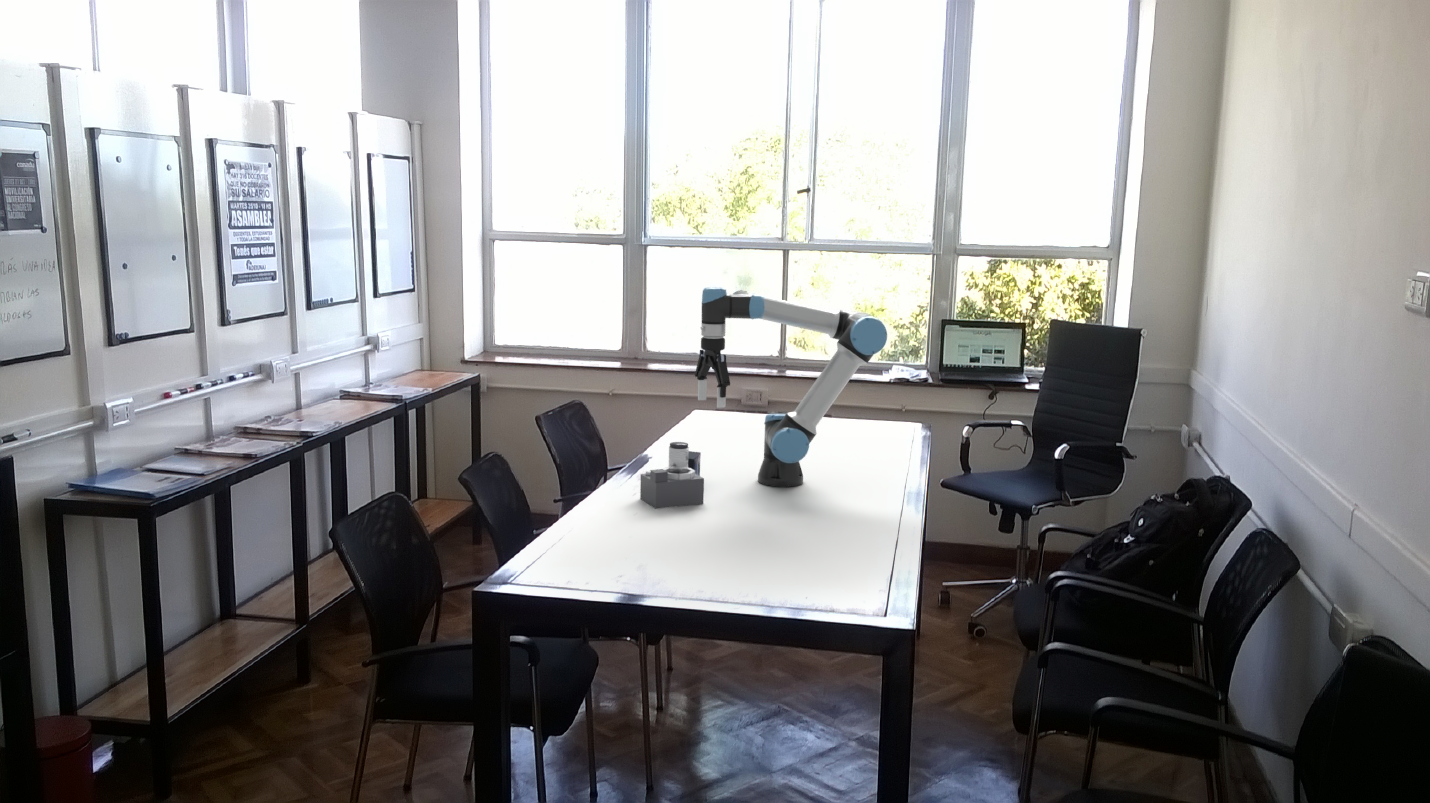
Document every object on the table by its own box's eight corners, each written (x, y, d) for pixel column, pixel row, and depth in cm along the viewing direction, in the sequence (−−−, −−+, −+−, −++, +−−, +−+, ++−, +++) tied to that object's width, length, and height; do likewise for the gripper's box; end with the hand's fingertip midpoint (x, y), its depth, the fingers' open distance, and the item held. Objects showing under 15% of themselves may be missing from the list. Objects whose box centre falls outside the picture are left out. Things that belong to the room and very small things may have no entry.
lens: (691, 475, 340) (692, 443, 338) (680, 478, 335) (681, 446, 334) (675, 472, 343) (676, 440, 342) (664, 475, 339) (665, 443, 337)
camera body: (686, 494, 349) (687, 460, 347) (703, 503, 338) (704, 468, 336) (640, 498, 342) (640, 464, 340) (655, 508, 331) (656, 473, 329)
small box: (693, 490, 354) (694, 458, 352) (674, 488, 355) (674, 457, 353) (700, 482, 364) (701, 451, 362) (681, 480, 365) (682, 450, 364)
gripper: (685, 332, 353) (684, 397, 356) (720, 342, 331) (718, 411, 335) (706, 332, 356) (704, 396, 360) (742, 341, 334) (740, 409, 338)
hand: (711, 403), depth 347 cm, fingers open, 13 cm apart
